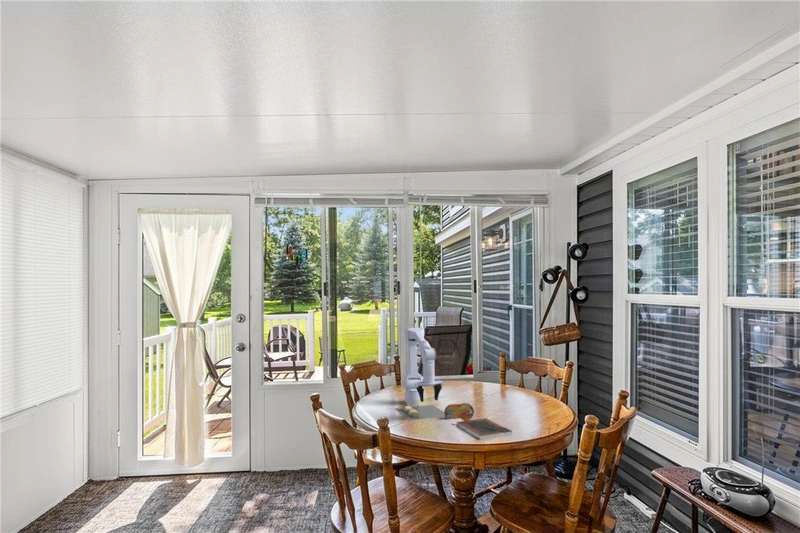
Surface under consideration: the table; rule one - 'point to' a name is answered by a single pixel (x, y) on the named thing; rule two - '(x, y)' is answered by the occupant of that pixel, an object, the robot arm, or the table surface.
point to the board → (423, 412)
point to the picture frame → (484, 428)
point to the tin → (459, 411)
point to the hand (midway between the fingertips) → (429, 400)
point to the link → (410, 410)
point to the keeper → (416, 404)
